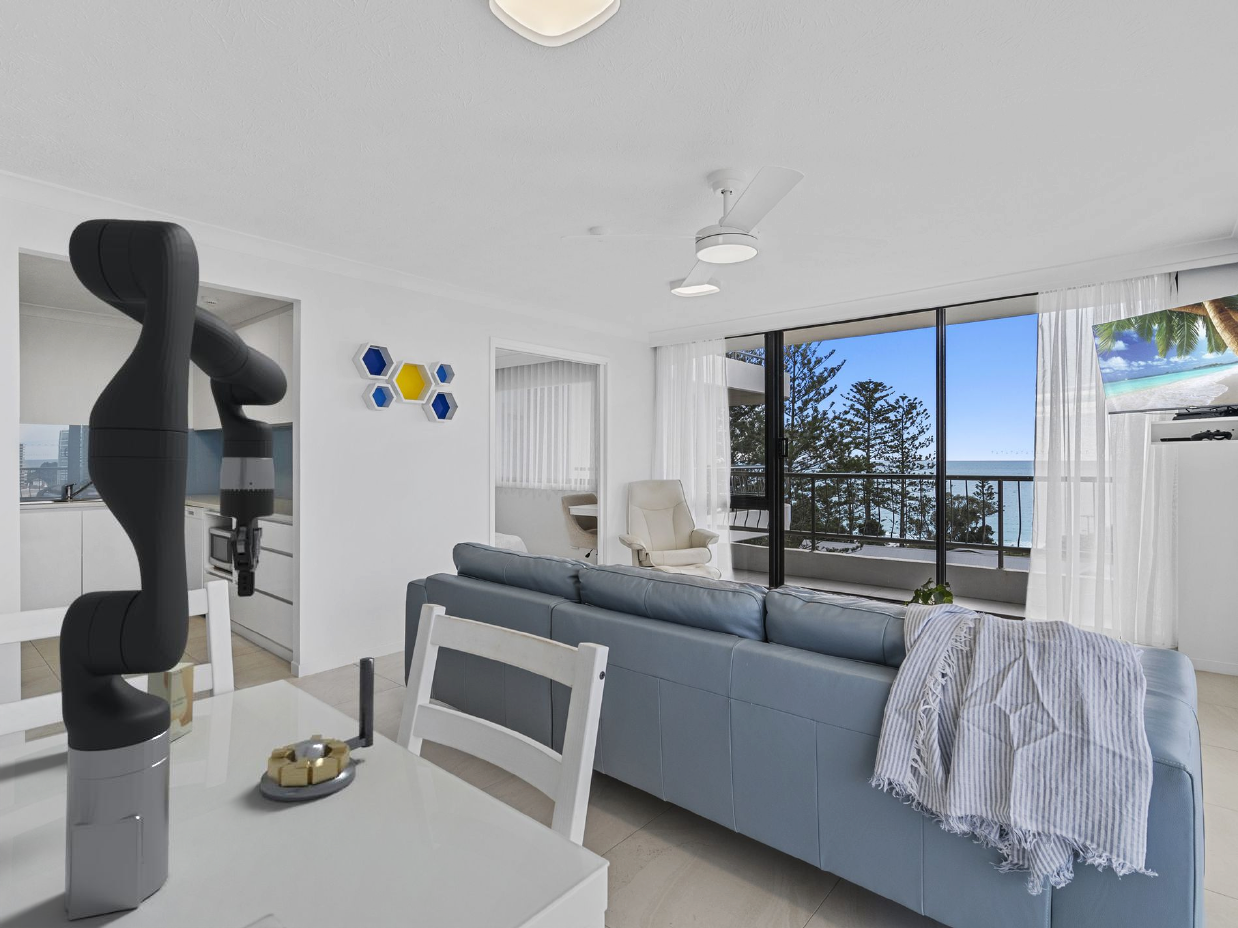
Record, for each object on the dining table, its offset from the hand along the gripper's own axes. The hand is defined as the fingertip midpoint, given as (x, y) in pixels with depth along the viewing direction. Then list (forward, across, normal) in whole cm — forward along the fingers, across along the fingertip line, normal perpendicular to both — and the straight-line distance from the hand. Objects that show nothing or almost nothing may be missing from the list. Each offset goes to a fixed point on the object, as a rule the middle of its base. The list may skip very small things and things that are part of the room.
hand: (246, 595), depth 105 cm
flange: (+27, -9, -10) cm, 30 cm away
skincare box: (+27, +18, +14) cm, 35 cm away
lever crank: (+25, -8, -13) cm, 29 cm away
